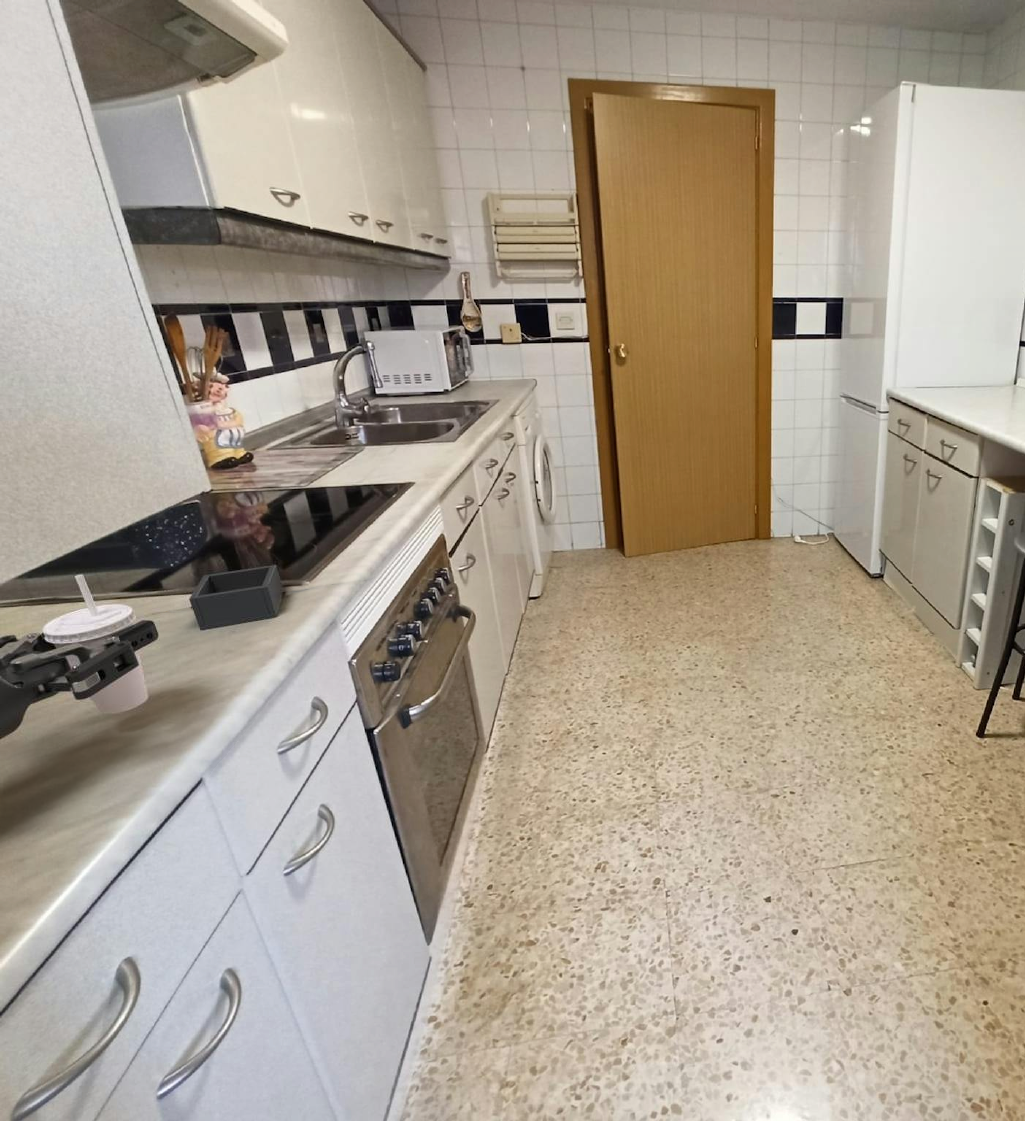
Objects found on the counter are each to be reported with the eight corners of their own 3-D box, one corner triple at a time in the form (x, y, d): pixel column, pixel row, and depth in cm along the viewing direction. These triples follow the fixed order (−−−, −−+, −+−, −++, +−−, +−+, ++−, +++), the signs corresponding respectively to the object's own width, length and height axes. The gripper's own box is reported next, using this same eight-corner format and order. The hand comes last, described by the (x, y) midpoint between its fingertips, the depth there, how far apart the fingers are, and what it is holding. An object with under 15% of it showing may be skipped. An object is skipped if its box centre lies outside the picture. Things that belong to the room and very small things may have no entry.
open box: (200, 630, 85) (188, 598, 83) (214, 604, 92) (203, 575, 90) (276, 617, 89) (267, 586, 87) (284, 593, 96) (276, 564, 94)
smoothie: (161, 708, 65) (110, 581, 60) (73, 730, 62) (11, 597, 56) (168, 679, 70) (122, 558, 65) (87, 697, 67) (31, 572, 61)
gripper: (-23, 693, 48) (176, 595, 63) (-202, 684, 49) (38, 589, 64) (19, 774, 51) (200, 662, 66) (-150, 764, 52) (67, 655, 67)
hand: (119, 626), depth 65 cm, fingers closed on smoothie, 6 cm apart
